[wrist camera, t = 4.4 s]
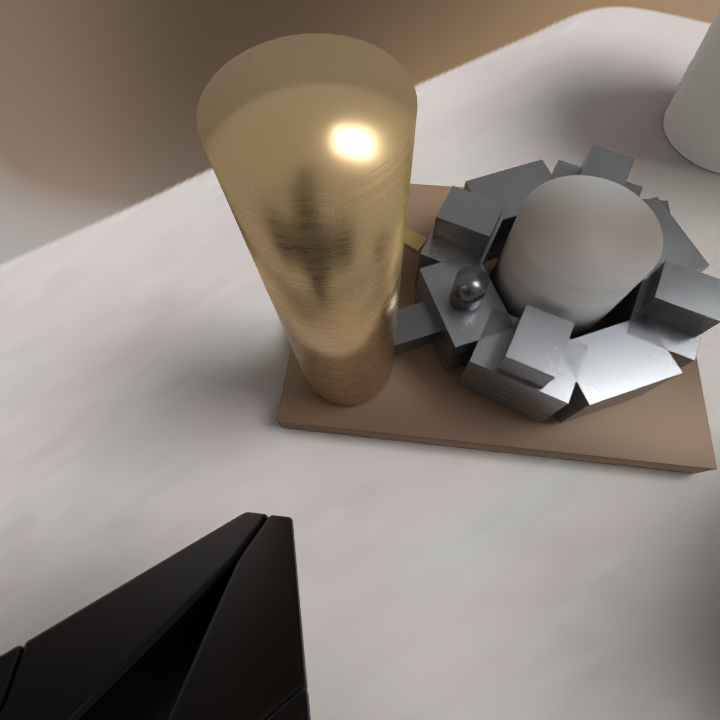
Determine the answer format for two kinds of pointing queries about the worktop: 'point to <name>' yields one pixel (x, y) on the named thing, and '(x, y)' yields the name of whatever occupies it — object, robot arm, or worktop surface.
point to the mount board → (495, 424)
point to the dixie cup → (698, 105)
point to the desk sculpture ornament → (440, 253)
